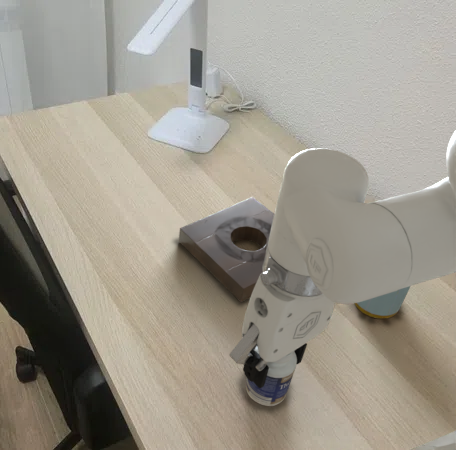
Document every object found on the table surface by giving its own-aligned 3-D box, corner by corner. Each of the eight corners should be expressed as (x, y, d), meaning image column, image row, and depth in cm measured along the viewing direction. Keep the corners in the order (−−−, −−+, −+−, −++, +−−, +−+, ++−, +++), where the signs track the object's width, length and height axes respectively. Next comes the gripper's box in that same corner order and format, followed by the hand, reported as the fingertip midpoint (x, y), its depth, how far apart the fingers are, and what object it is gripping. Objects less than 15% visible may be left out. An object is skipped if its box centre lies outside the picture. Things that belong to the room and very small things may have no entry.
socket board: (315, 262, 90) (319, 248, 88) (240, 302, 83) (243, 288, 81) (250, 209, 99) (252, 196, 98) (178, 241, 92) (179, 228, 90)
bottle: (359, 279, 87) (388, 205, 77) (404, 299, 84) (440, 225, 74) (343, 306, 83) (372, 231, 73) (389, 328, 80) (425, 253, 70)
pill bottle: (279, 414, 69) (295, 368, 62) (239, 397, 70) (250, 350, 64) (291, 380, 73) (306, 334, 66) (252, 365, 74) (263, 318, 68)
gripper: (264, 323, 50) (238, 425, 62) (385, 253, 58) (341, 357, 70) (213, 273, 55) (198, 377, 67) (331, 215, 63) (299, 318, 74)
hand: (272, 366), depth 68 cm, fingers closed on pill bottle, 5 cm apart
